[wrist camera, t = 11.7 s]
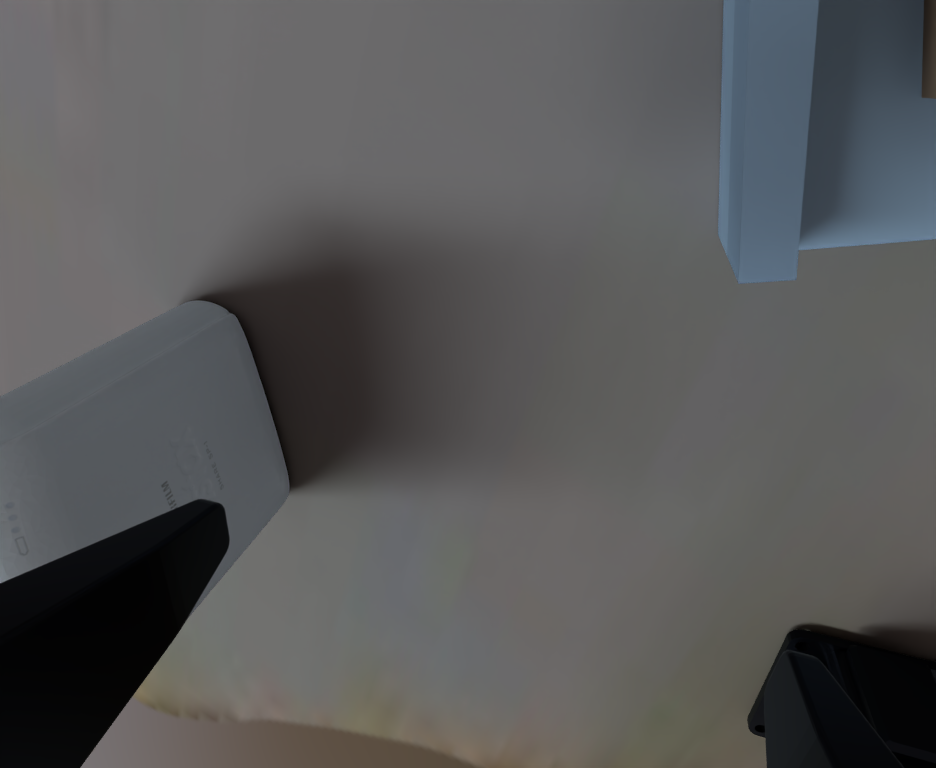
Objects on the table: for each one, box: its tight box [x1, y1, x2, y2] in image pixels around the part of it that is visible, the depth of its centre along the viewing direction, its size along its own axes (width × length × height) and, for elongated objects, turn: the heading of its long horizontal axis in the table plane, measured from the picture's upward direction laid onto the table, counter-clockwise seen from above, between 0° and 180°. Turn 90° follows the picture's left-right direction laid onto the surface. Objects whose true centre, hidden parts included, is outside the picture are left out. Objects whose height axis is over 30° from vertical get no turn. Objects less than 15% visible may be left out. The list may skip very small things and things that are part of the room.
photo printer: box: [0, 300, 290, 616], centre depth 21 cm, size 10×4×12 cm, turn 7°
